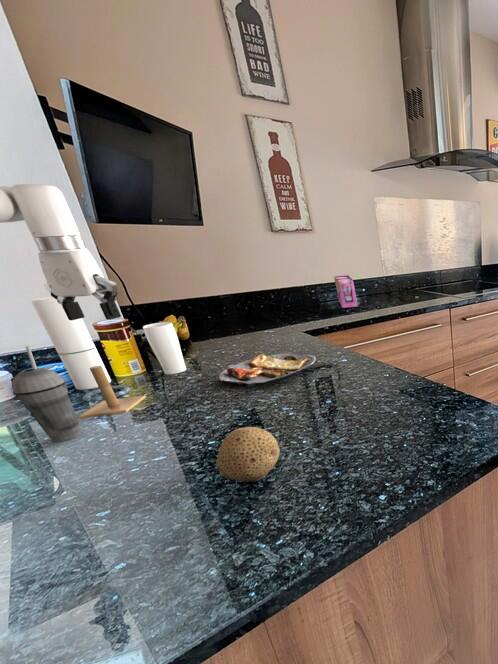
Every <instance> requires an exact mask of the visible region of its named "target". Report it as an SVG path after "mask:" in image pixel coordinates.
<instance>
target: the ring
mask: <svg viewBox="0 0 498 664" xmlns="http://www.w3.org/2000/svg"><path fill="white" fill-rule="evenodd" d="M111 387H112V390H113V391H114V390H120V391H117V392H114V394H115V396H116V398H117V397H119V396H122V395H125V394H127V393H129V392H130V391H131V390H132V389H131V387H130V386H129V385H122V384H120V385H111ZM100 393H101V391H100V389H99V388H98V389H95V390H92V391H89V392H87V393H85V394H84V395H82V397H81V399H82V402H90V403H92V402H99V401H100V402H102V401H104V400H105V399H104V397H103V395H102V396H94V395H97V394H100ZM93 396H94V397H93Z"/></svg>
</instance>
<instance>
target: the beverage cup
mask: <svg viewBox="0 0 498 664" xmlns="http://www.w3.org/2000/svg"><path fill="white" fill-rule="evenodd" d="M25 349H26V352H27V355H28V358H29V361H30V365H31V367H32V368H31V367H30V368H27V369H24V370H22V371H20V372H18V373H17V374H15V376H14V377H13V379H12V380H11V389H12V394H13V396H16V398H17V399H18V400H19V402H21V404H23V405H24V406H25V408H26V410H28V411H29V413H30V414H31V416H32V417H33V418H34V419H35V421H36V422H37V423H38V425H39V426H40V427H41V430H43V431H44V433H45V434H46V435H47V436H48V437H49V439H50V440H51V441H52V442H53V443H60V442H65V441H70V440H73V439H75V438H77V437H79V436H81V435H82V434H83V431H82V428H81V424H80V421H79V418H78V417H77V414H76V411H75V409H74V405H73V404H72V401H71V399H70V396H69V393H68V392H69V391H68V385H66V384H67V382H66V380H64V379H63V378H62V376H61V375H60V374H59V373H58V372H56V371H54V370H51V369H48V368H44V367H37V364H36V360H35V358H34V356H33V353H32V349H31V347H30V345H27V346H25Z"/></svg>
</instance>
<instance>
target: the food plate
mask: <svg viewBox="0 0 498 664" xmlns="http://www.w3.org/2000/svg"><path fill="white" fill-rule="evenodd" d="M316 358H317V357H316V356H314V355H312V354H309V353H307V352H289V353H288V352H286V353H285V352H283V353H277V354H275V353H274V354H272V355H265V354H263V353H258V354H257V355H256V356H254V357H253V358H250V359H247V360H245V361H241V362H238V363H235V364H233V365H230V366H228V367H226V368H224V370H222V371H220V372H219V373H218V374H217V379H218V381H221V382H223V381H224V382H227V383H231V384H233V383H234V384H237V385H239V386H240V385H252V384H260V383H261V384H262V383H266V382H272V381H275V380H279V379H282V378H286V377H288V376H290V375H292V374H295V373H297V372H300V371H302V370H304V369H306V368H308V367H309V366H311V365H313V364H314V363H315V361H316Z"/></svg>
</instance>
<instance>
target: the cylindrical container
mask: <svg viewBox="0 0 498 664" xmlns="http://www.w3.org/2000/svg"><path fill="white" fill-rule="evenodd" d="M30 302H31V304H32V306H33V308H34V310H35V311H36V313H37V315H38V318H40V321H41V323H42V325H43V327H44V329H45V331H46V333H47V335H48V337H49V338H50V341H51V343H52V345H53V347H54V348H55V350H56V352H57V354H58V356H59V358H60V360H61V362H62V364H63V367H64V368H65V370H66V372H67V375H68V376H69V377H70V380H71V382H72V383H73V386H74V387H75V389H76V390H82V391H83V390H84V391H85V390H90V389H95V388H96V389H97V388H99V387H98V385H97V383H96V381H95V379H94V377H93V375H92V372H91V370H90V368H91V367H93V366H102V368H103V371H104V373H105V375H106V377H107V379H108V381H109V383H110V384H111V382H112V379H111V377H110V375H109V373H108V371H107V368H106V366H105V364H104V362H103V360H102V358H101V356H100V354H99V352H98V349H97V348H96V345H95V343H94V341H93V339H92V336H91V335H90V333H89V331H88V328H87V326H86V323H85V321H84V319H83V318H81V319H76V320H69V319H68V317H67V315H66V313H65V311H64V309H63V307H62V305H61V304H59V303H58V302H57V300H56V299H55V298H53V297H52V296H51V295H49V296H42V297H36V298H32V299H30Z"/></svg>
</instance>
